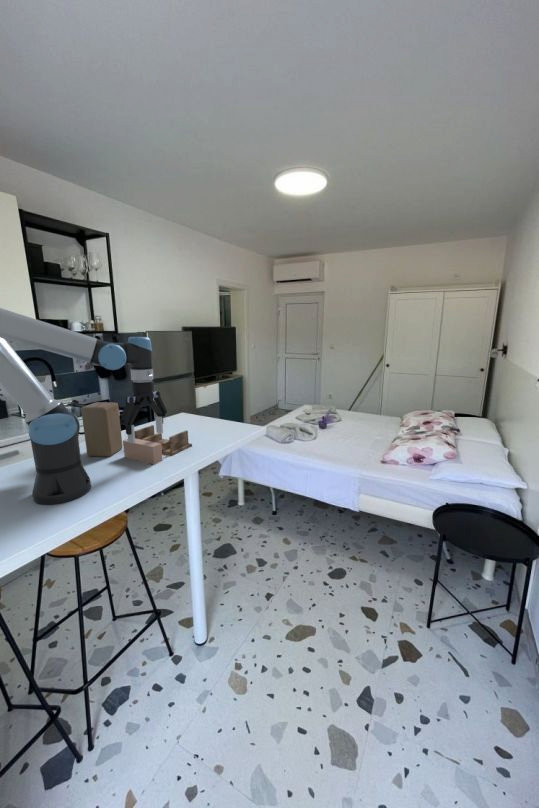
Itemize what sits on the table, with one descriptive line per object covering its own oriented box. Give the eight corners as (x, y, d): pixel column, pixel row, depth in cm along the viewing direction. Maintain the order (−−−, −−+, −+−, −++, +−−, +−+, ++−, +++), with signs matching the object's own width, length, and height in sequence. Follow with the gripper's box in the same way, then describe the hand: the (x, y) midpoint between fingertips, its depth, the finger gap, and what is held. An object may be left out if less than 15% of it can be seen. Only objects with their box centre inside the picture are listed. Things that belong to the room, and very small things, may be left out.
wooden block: (123, 448, 139) (118, 402, 135) (110, 457, 129) (104, 407, 125) (101, 447, 140) (95, 401, 136) (86, 456, 130) (79, 407, 126)
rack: (172, 455, 131) (171, 438, 129) (132, 447, 140) (130, 431, 139) (192, 446, 141) (191, 430, 140) (153, 439, 151) (152, 424, 149)
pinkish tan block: (154, 464, 122) (152, 446, 121) (124, 457, 130) (122, 440, 128) (162, 461, 126) (161, 443, 124) (132, 454, 133) (131, 437, 131)
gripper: (121, 386, 106) (126, 449, 111) (174, 377, 128) (177, 430, 133) (104, 384, 110) (110, 445, 114) (160, 376, 132) (162, 427, 136)
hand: (146, 437), depth 123 cm, fingers open, 13 cm apart
